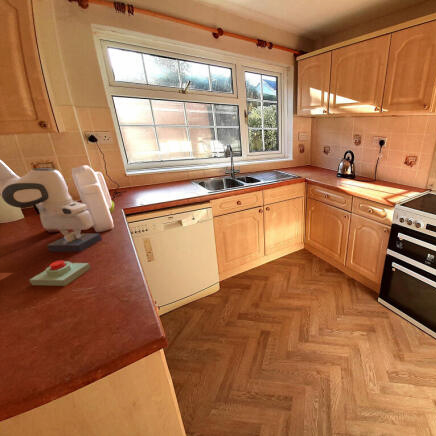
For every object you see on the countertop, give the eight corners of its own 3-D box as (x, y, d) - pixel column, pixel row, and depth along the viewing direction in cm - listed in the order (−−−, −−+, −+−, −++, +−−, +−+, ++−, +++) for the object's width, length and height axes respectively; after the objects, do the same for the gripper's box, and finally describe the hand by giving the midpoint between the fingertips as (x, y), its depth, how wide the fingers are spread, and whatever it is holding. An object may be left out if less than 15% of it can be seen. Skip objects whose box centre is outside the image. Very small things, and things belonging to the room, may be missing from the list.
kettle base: (32, 285, 80) (26, 275, 78) (60, 267, 89) (56, 258, 88) (65, 285, 79) (60, 275, 77) (91, 268, 88) (87, 258, 87)
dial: (70, 241, 102) (67, 234, 101) (67, 241, 102) (64, 234, 101) (80, 236, 107) (78, 229, 106) (78, 236, 107) (75, 229, 106)
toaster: (124, 228, 121) (104, 168, 109) (96, 236, 114) (72, 172, 102) (113, 215, 139) (94, 162, 128) (88, 221, 132) (67, 165, 120)
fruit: (94, 218, 135) (88, 201, 131) (101, 213, 143) (95, 196, 140) (113, 216, 138) (107, 199, 134) (118, 210, 146) (113, 194, 142)
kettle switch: (48, 270, 81) (46, 266, 81) (59, 264, 85) (56, 260, 84) (58, 270, 81) (56, 266, 80) (68, 264, 84) (66, 260, 84)
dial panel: (49, 251, 101) (46, 244, 100) (73, 239, 111) (70, 233, 110) (80, 251, 100) (77, 245, 99) (101, 239, 110) (99, 233, 109)
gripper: (29, 210, 97) (44, 241, 102) (76, 210, 95) (88, 241, 101) (45, 205, 103) (59, 234, 108) (90, 204, 101) (101, 234, 106)
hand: (73, 237), depth 104 cm, fingers open, 3 cm apart
